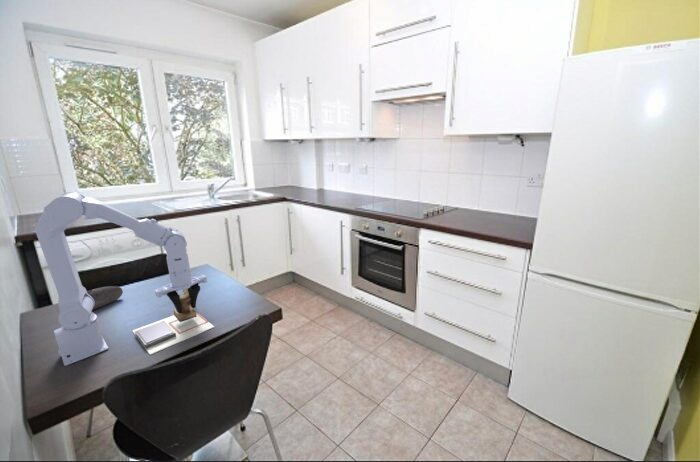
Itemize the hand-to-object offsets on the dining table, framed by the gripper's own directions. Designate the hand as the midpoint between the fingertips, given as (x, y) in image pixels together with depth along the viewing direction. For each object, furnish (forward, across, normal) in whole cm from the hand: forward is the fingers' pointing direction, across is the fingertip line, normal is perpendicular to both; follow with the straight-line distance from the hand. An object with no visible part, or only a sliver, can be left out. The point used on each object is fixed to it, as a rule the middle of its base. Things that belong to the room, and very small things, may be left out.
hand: (186, 309), depth 100 cm
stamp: (+3, 0, +1) cm, 3 cm away
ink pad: (+5, -10, 0) cm, 11 cm away
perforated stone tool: (+5, -16, +36) cm, 40 cm away
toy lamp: (+5, +6, +16) cm, 18 cm away
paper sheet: (+5, -4, 0) cm, 7 cm away
